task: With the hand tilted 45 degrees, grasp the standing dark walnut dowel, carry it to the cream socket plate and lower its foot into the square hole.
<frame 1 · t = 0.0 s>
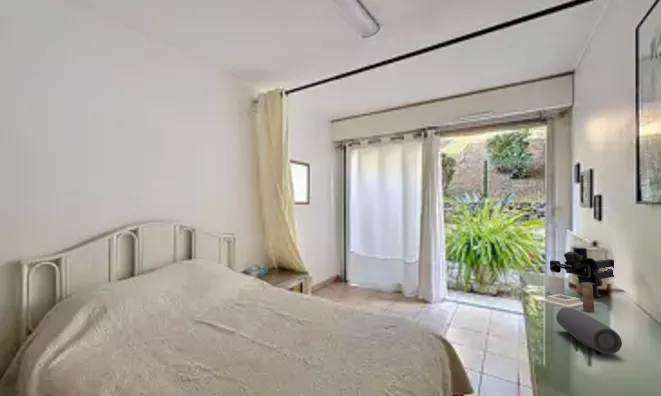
hand: (559, 269, 160), 17 cm above the table, tool horizontal, fingers open, 9 cm apart
white cup: (556, 295, 173), on the table
dowel: (588, 311, 144), on the table
socket: (563, 303, 157), on the table
bluetooth speaker: (587, 344, 109), on the table
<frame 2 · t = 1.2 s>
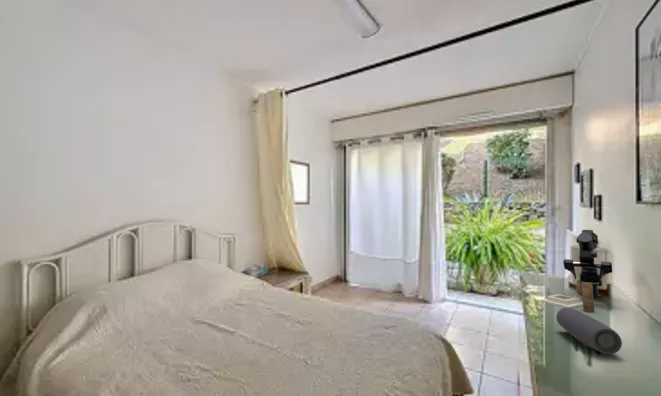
hand: (587, 279, 150), 13 cm above the table, tool tilted 45°, fingers open, 9 cm apart
nothing on the table moved.
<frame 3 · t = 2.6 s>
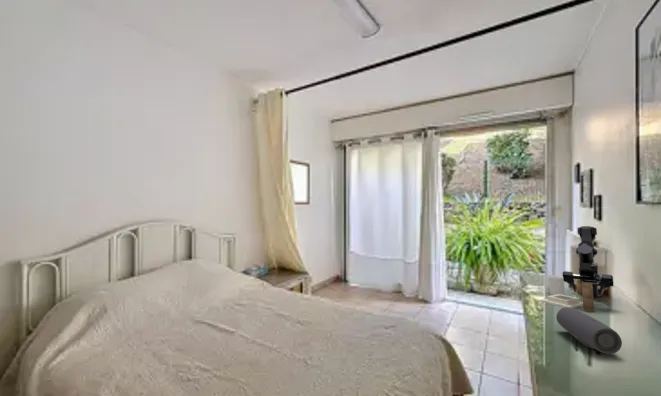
hand: (587, 293, 144), 8 cm above the table, tool tilted 45°, fingers open, 9 cm apart
nothing on the table moved.
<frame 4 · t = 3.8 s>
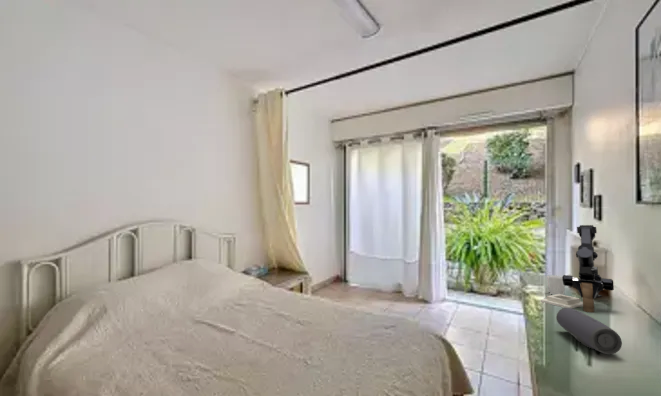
hand: (587, 297, 143), 7 cm above the table, tool tilted 45°, fingers closed on dowel, 4 cm apart
dowel: (588, 311, 144), on the table, touching gripper
everything else where it was.
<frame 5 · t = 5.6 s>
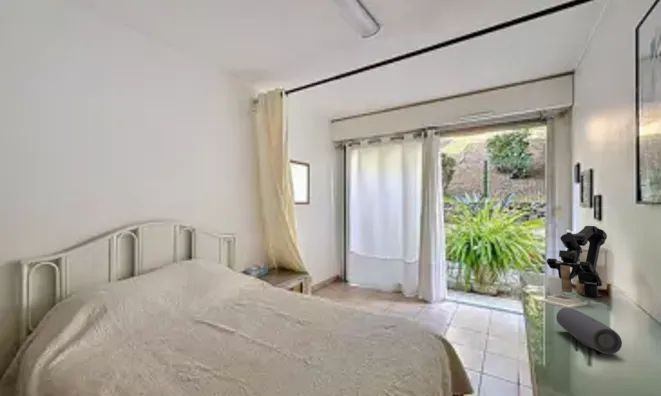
hand: (564, 278, 154), 13 cm above the table, tool tilted 45°, fingers closed on dowel, 4 cm apart
dowel: (567, 291, 154), point 7 cm above the table, touching gripper
everything else where it was.
when the fingers open (8 cm above the table, at t = 7.3 s): dowel drops 2 cm, resting in socket.
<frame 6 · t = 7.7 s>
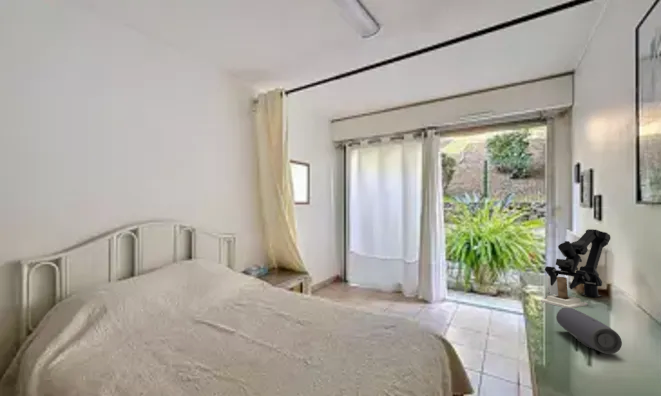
hand: (560, 286, 157), 9 cm above the table, tool tilted 45°, fingers open, 9 cm apart
dowel: (563, 303, 157), resting in socket
everything else where it was.
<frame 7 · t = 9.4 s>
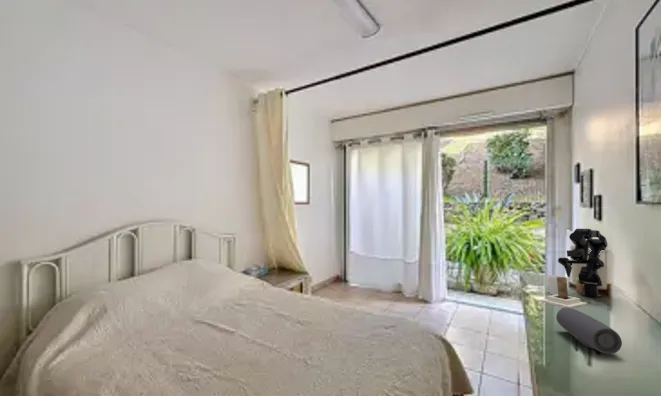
hand: (578, 277, 158), 13 cm above the table, tool tilted 30°, fingers open, 9 cm apart
nothing on the table moved.
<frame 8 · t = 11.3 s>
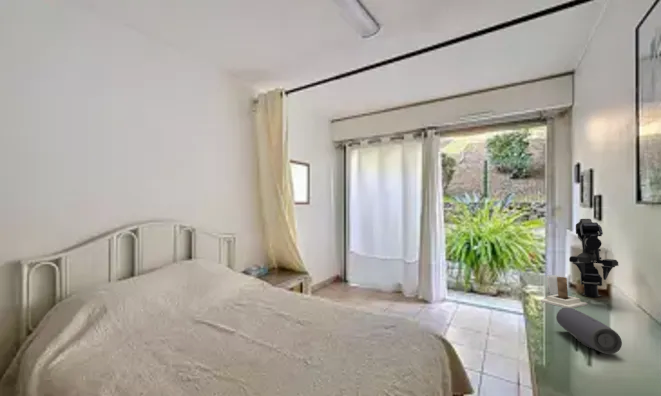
hand: (593, 278, 154), 13 cm above the table, tool pointing down, fingers open, 9 cm apart
nothing on the table moved.
at the end: dowel 0.0 cm off-centre on the socket, point 0.0 cm above the socket's base; dowel tilted 0°; the gripper is holding nothing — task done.
